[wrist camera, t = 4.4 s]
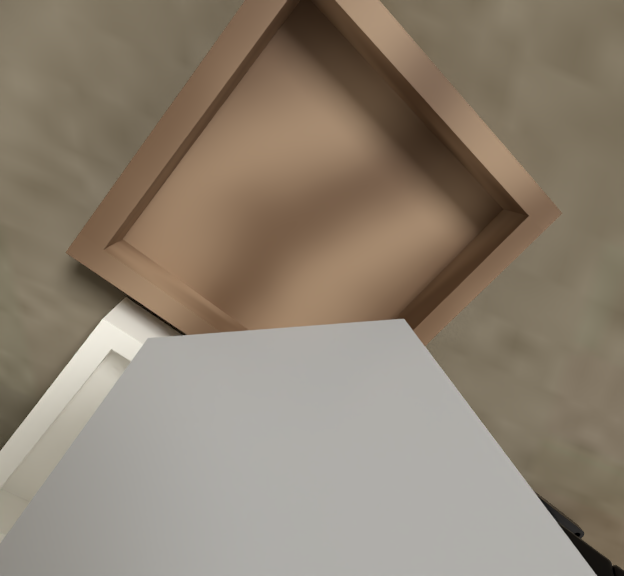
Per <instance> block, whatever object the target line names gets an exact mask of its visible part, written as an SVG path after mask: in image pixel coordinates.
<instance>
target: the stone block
mask: <svg viewBox="0 0 624 576" xmlns="http://www.w3.org/2000/svg"><path fill="white" fill-rule="evenodd" d="M0 576H597V575H596V574H595V572H594V571H593V570H592V568H591V567H590V566H589V564H588V563H587V562H586V560H585V559H584V558H583V556H582V555H581V554H580V552H579V551H578V550H577V548H576V547H575V546H574V544H573V543H572V542H571V540H570V539H569V538H568V536H567V535H566V534H565V532H564V531H563V530H562V528H561V527H560V526H559V524H558V523H557V522H556V520H555V519H554V518H553V516H552V515H551V514H550V512H549V511H548V510H547V508H546V507H545V506H544V504H543V503H542V502H541V500H540V499H539V498H538V496H537V495H536V494H535V492H534V491H533V490H532V488H531V487H530V486H529V484H528V483H527V482H526V480H525V479H524V478H523V476H522V475H521V474H520V472H519V471H518V470H517V468H516V467H515V466H514V464H513V463H512V462H511V460H510V459H509V458H508V456H507V455H506V454H505V453H504V451H503V450H502V449H501V447H500V446H499V445H498V443H497V442H496V441H495V439H494V438H493V437H492V435H491V434H490V433H489V431H488V430H487V429H486V427H485V426H484V425H483V423H482V422H481V421H480V419H479V418H478V417H477V415H476V414H475V413H474V411H473V410H472V409H471V407H470V406H469V405H468V403H467V402H466V401H465V399H464V398H463V397H462V395H461V394H460V393H459V391H458V390H457V389H456V387H455V386H454V385H453V383H452V382H451V381H450V379H449V378H448V377H447V375H446V374H445V373H444V371H443V370H442V369H441V367H440V366H439V365H438V363H437V362H436V361H435V359H434V358H433V357H432V355H431V354H430V353H429V351H428V350H427V349H426V347H425V346H424V345H423V343H422V342H421V341H420V339H419V338H418V337H417V335H416V334H415V333H414V331H413V330H412V329H411V327H410V326H409V325H408V323H407V322H406V321H405V319H392V320H379V321H366V322H353V323H340V324H327V325H313V326H300V327H287V328H274V329H261V330H247V331H234V332H221V333H208V334H195V335H182V336H168V337H155V338H148V339H147V340H146V341H145V343H144V344H143V346H142V347H141V348H140V350H139V351H138V353H137V354H136V355H135V357H134V358H133V359H132V361H131V362H130V364H129V365H128V366H127V368H126V369H125V371H124V372H123V373H122V375H121V376H120V378H119V379H118V380H117V382H116V383H115V384H114V386H113V387H112V389H111V390H110V391H109V393H108V394H107V396H106V397H105V398H104V400H103V401H102V403H101V404H100V405H99V407H98V408H97V409H96V411H95V412H94V414H93V415H92V416H91V418H90V419H89V421H88V422H87V423H86V425H85V426H84V428H83V429H82V430H81V432H80V433H79V435H78V436H77V437H76V439H75V440H74V441H73V443H72V444H71V446H70V447H69V448H68V450H67V451H66V453H65V454H64V455H63V457H62V458H61V460H60V461H59V462H58V464H57V465H56V466H55V468H54V469H53V471H52V472H51V473H50V475H49V476H48V478H47V479H46V480H45V482H44V483H43V485H42V486H41V487H40V489H39V490H38V491H37V493H36V494H35V496H34V497H33V498H32V500H31V501H30V503H29V504H28V505H27V507H26V508H25V510H24V511H23V512H22V514H21V515H20V516H19V518H18V519H17V521H16V522H15V523H14V525H13V526H12V528H11V529H10V530H9V532H8V533H7V535H6V536H5V537H4V539H3V540H2V542H1V543H0Z"/></svg>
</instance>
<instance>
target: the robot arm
mask: <svg viewBox="0 0 624 576" xmlns="http://www.w3.org/2000/svg"><path fill="white" fill-rule="evenodd" d="M534 492H535V491H534ZM535 494H536V495H537V496H538V498H539V499H540V500H541V502H542V503H543V504H544V506H545V507H546V508H547V510H548V511H549V512H550V514H551V515H552V516H553V518H554V519H555V520H556V522H557V523H558V524H559V526H560V527H561V528H562V530H563V531H564V532H565V534H566V535H567V536H568V538H569V539H570V540H571V542H572V543H573V544H574V546H575V547H576V548H577V550H578V551H579V552H580V554H581V555H582V556H583V558H584V559H585V560H586V562H587V563H588V564H589V566H590V567H591V568H592V570H593V571H594V572H595V574H596V575H597V576H624V570H622V569H621V568H620V567H618V566H617V565H613V566H612V563H611V561H610V560H609V559H607V558H606V557H605V556H603V555H602V554H601V553H599V552H598V551H596V550H595V549H594V548H592V547H591V546H590V545H588V544H587V543H586V542H584V541H583V540H582V539H581V538H582V537H583V535H584V532H583V531H582V529H581V528H580V527H579V526H578V525H577V524H576V523H575V522H573V521H572V520H571V519H569V518H568V517H567V516H566V515H564V514H563V513H562V512H560V511H559V510H558V509H557V508H555V507H554V506H553V505H551V504H550V503H549V502H548V501H546V500H545V499H544V498H542V497H541V496H540V495H538V494H537V493H536V492H535Z"/></svg>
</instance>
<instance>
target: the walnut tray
mask: <svg viewBox="0 0 624 576" xmlns="http://www.w3.org/2000/svg"><path fill="white" fill-rule="evenodd" d="M561 214H562V212H561V211H560V210H559V209H558V208H557V206H556V205H555V204H554V203H553V202H552V201H551V199H550V198H549V197H548V196H547V195H546V194H545V192H544V191H543V190H542V189H541V188H540V187H539V185H538V184H537V183H536V182H535V181H534V180H533V179H532V177H531V176H530V175H529V174H528V173H527V172H526V170H525V169H524V168H523V167H522V166H521V165H520V163H519V162H518V161H517V160H516V159H515V158H514V156H513V155H512V154H511V153H510V152H509V151H508V149H507V148H506V147H505V146H504V145H503V144H502V142H501V141H500V140H499V139H498V138H497V137H496V135H495V134H494V133H493V132H492V131H491V130H490V129H489V127H488V126H487V125H486V124H485V123H484V122H483V120H482V119H481V118H480V117H479V116H478V115H477V113H476V112H475V111H474V110H473V109H472V108H471V106H470V105H469V104H468V103H467V102H466V101H465V99H464V98H463V97H462V96H461V95H460V94H459V92H458V91H457V90H456V89H455V88H454V87H453V85H452V84H451V83H450V82H449V81H448V80H447V79H446V77H445V76H444V75H443V74H442V73H441V72H440V70H439V69H438V68H437V67H436V66H435V65H434V63H433V62H432V61H431V60H430V59H429V58H428V56H427V55H426V54H425V53H424V52H423V51H422V49H421V48H420V47H419V46H418V45H417V44H416V42H415V41H414V40H413V39H412V38H411V37H410V36H409V34H408V33H407V32H406V31H405V30H404V29H403V27H402V26H401V25H400V24H399V23H398V22H397V20H396V19H395V18H394V17H393V16H392V15H391V13H390V12H389V11H388V10H387V9H386V8H385V6H384V5H383V4H382V3H381V2H380V1H379V0H245V1H244V3H243V4H242V5H241V7H240V8H239V10H238V11H237V12H236V14H235V15H234V17H233V18H232V19H231V21H230V22H229V24H228V25H227V26H226V28H225V29H224V31H223V32H222V34H221V35H220V36H219V38H218V39H217V41H216V42H215V43H214V45H213V46H212V48H211V49H210V50H209V52H208V53H207V55H206V56H205V57H204V59H203V60H202V62H201V63H200V64H199V66H198V67H197V69H196V70H195V71H194V73H193V74H192V76H191V77H190V78H189V80H188V81H187V83H186V84H185V85H184V87H183V88H182V90H181V91H180V93H179V94H178V95H177V97H176V98H175V100H174V101H173V102H172V104H171V105H170V107H169V108H168V109H167V111H166V112H165V114H164V115H163V116H162V118H161V119H160V121H159V122H158V123H157V125H156V126H155V128H154V129H153V130H152V132H151V133H150V135H149V136H148V137H147V139H146V140H145V142H144V143H143V144H142V146H141V147H140V149H139V150H138V152H137V153H136V154H135V156H134V157H133V159H132V160H131V161H130V163H129V164H128V166H127V167H126V168H125V170H124V171H123V173H122V174H121V175H120V177H119V178H118V180H117V181H116V182H115V184H114V185H113V187H112V188H111V189H110V191H109V192H108V194H107V195H106V196H105V198H104V199H103V201H102V202H101V203H100V205H99V206H98V208H97V209H96V211H95V212H94V213H93V215H92V216H91V218H90V219H89V220H88V222H87V223H86V225H85V226H84V227H83V229H82V230H81V232H80V233H79V234H78V236H77V237H76V239H75V240H74V241H73V243H72V244H71V246H70V247H69V248H68V250H67V251H66V253H67V254H68V255H70V256H71V257H73V258H74V259H76V260H77V261H79V262H80V263H82V264H83V265H85V266H86V267H88V268H89V269H90V270H92V271H93V272H95V273H96V274H98V275H99V276H101V277H102V278H104V279H105V280H107V281H108V282H110V283H111V284H113V285H114V286H116V287H117V288H119V289H120V290H121V291H123V292H124V293H126V294H127V295H129V296H130V297H132V298H133V299H135V300H136V301H138V302H139V303H141V304H142V305H144V306H145V307H147V308H148V309H150V310H151V311H153V312H154V313H155V314H157V315H158V316H160V317H161V318H163V319H164V320H166V321H167V322H169V323H170V324H172V325H173V326H175V327H176V328H178V329H179V330H181V331H182V332H184V333H185V334H186V335H195V334H208V333H221V332H234V331H247V330H261V329H274V328H287V327H300V326H313V325H327V324H340V323H353V322H366V321H379V320H392V319H405V321H406V322H407V323H408V325H409V326H410V327H411V329H412V330H413V331H414V333H415V334H416V335H417V337H418V338H419V339H420V341H421V342H422V343H423V345H424V346H426V345H427V344H428V343H429V342H430V341H431V340H432V339H433V338H434V337H435V336H436V335H437V334H438V333H439V332H440V331H441V330H442V329H443V328H444V327H445V326H446V325H447V324H448V323H449V322H450V321H451V320H452V319H454V318H455V317H456V316H457V315H458V314H459V313H460V312H461V311H462V310H463V309H464V308H465V307H466V306H467V305H468V304H469V303H470V302H471V301H472V300H473V299H474V298H475V297H476V296H477V295H478V294H479V293H480V292H481V291H482V290H483V289H485V288H486V287H487V286H488V285H489V284H490V283H491V282H492V281H493V280H494V279H495V278H496V277H497V276H498V275H499V274H500V273H501V272H502V271H503V270H504V269H505V268H506V267H507V266H508V265H509V264H510V263H511V262H512V261H513V260H515V259H516V258H517V257H518V256H519V255H520V254H521V253H522V252H523V251H524V250H525V249H526V248H527V247H528V246H529V245H530V244H531V243H532V242H533V241H534V240H535V239H536V238H537V237H538V236H539V235H540V234H541V233H542V232H543V231H544V230H546V229H547V228H548V227H549V226H550V225H551V224H552V223H553V222H554V221H555V220H556V219H557V218H558V217H559V216H560V215H561Z"/></svg>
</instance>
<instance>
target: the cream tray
mask: <svg viewBox="0 0 624 576" xmlns="http://www.w3.org/2000/svg"><path fill="white" fill-rule="evenodd" d="M168 336H182V334H181V333H179V332H178V331H176V330H175V329H173V328H172V327H170V326H169V325H167V324H166V323H164V322H163V321H161V320H160V319H158V318H157V317H155V316H154V315H152V314H151V313H149V312H148V311H146V310H145V309H143V308H142V307H140V306H139V305H138V304H136V303H135V302H133V301H132V300H130V299H129V298H127V297H125V298H124V299H123V300H122V301H121V302H120V303H119V304H118V305H117V306H116V307H115V308H113V309H112V310H111V311H110V312H109V313H108V314H107V315H106V316H105V317H104V318H103V319H102V320H101V322H100V323H99V324H98V325H97V327H96V328H95V329H94V331H93V332H92V333H91V334H90V336H89V337H88V338H87V340H86V341H85V342H84V344H83V345H82V346H81V347H80V349H79V350H78V351H77V353H76V354H75V355H74V356H73V358H72V359H71V360H70V362H69V363H68V364H67V365H66V367H65V368H64V369H63V371H62V372H61V373H60V375H59V376H58V377H57V378H56V380H55V381H54V382H53V384H52V385H51V386H50V387H49V389H48V390H47V391H46V393H45V394H44V395H43V397H42V398H41V399H40V400H39V402H38V403H37V404H36V406H35V407H34V408H33V409H32V411H31V412H30V413H29V415H28V416H27V417H26V418H25V420H24V421H23V422H22V424H21V425H20V426H19V428H18V429H17V430H16V431H15V433H14V434H13V435H12V437H11V438H10V439H9V440H8V442H7V443H6V444H5V446H4V447H3V448H2V449H1V451H0V543H1V542H2V540H3V539H4V537H5V536H6V535H7V533H8V532H9V530H10V529H11V528H12V526H13V525H14V523H15V522H16V521H17V519H18V518H19V516H20V515H21V514H22V512H23V511H24V510H25V508H26V507H27V505H28V504H29V503H30V501H31V500H32V498H33V497H34V496H35V494H36V493H37V491H38V490H39V489H40V487H41V486H42V485H43V483H44V482H45V480H46V479H47V478H48V476H49V475H50V473H51V472H52V471H53V469H54V468H55V466H56V465H57V464H58V462H59V461H60V460H61V458H62V457H63V455H64V454H65V453H66V451H67V450H68V448H69V447H70V446H71V444H72V443H73V441H74V440H75V439H76V437H77V436H78V435H79V433H80V432H81V430H82V429H83V428H84V426H85V425H86V423H87V422H88V421H89V419H90V418H91V416H92V415H93V414H94V412H95V411H96V409H97V408H98V407H99V405H100V404H101V403H102V401H103V400H104V398H105V397H106V396H107V394H108V393H109V391H110V390H111V389H112V387H113V386H114V384H115V383H116V382H117V380H118V379H119V378H120V376H121V375H122V373H123V372H124V371H125V369H126V368H127V366H128V365H129V364H130V362H131V361H132V359H133V358H134V357H135V355H136V354H137V353H138V351H139V350H140V348H141V347H142V346H143V344H144V343H145V341H146V340H147V339H148V338H155V337H168Z"/></svg>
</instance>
